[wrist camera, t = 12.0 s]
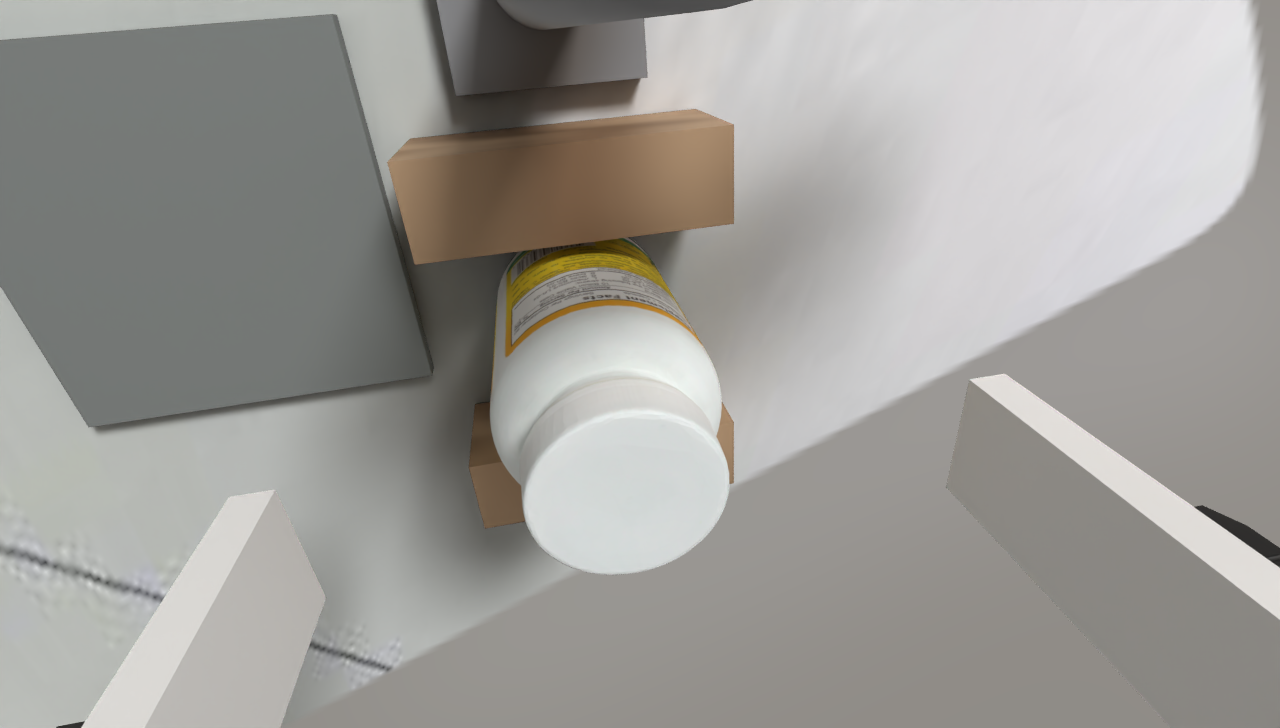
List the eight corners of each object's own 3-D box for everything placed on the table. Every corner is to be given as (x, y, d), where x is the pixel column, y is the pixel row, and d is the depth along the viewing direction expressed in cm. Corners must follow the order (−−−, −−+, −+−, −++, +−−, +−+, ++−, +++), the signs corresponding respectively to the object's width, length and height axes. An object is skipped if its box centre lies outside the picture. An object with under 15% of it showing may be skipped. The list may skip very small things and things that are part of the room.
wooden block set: (488, 460, 22) (485, 528, 19) (341, -143, 14) (292, -193, 11) (704, 423, 23) (733, 482, 20) (688, -160, 15) (734, -211, 12)
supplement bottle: (535, 192, 18) (555, 329, 10) (690, 261, 20) (819, 426, 11) (471, 345, 20) (442, 571, 11) (618, 395, 22) (685, 620, 13)
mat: (98, 418, 19) (88, 427, 18) (-126, 51, 14) (-147, 51, 13) (433, 367, 20) (431, 375, 19) (336, 15, 15) (331, 14, 15)
